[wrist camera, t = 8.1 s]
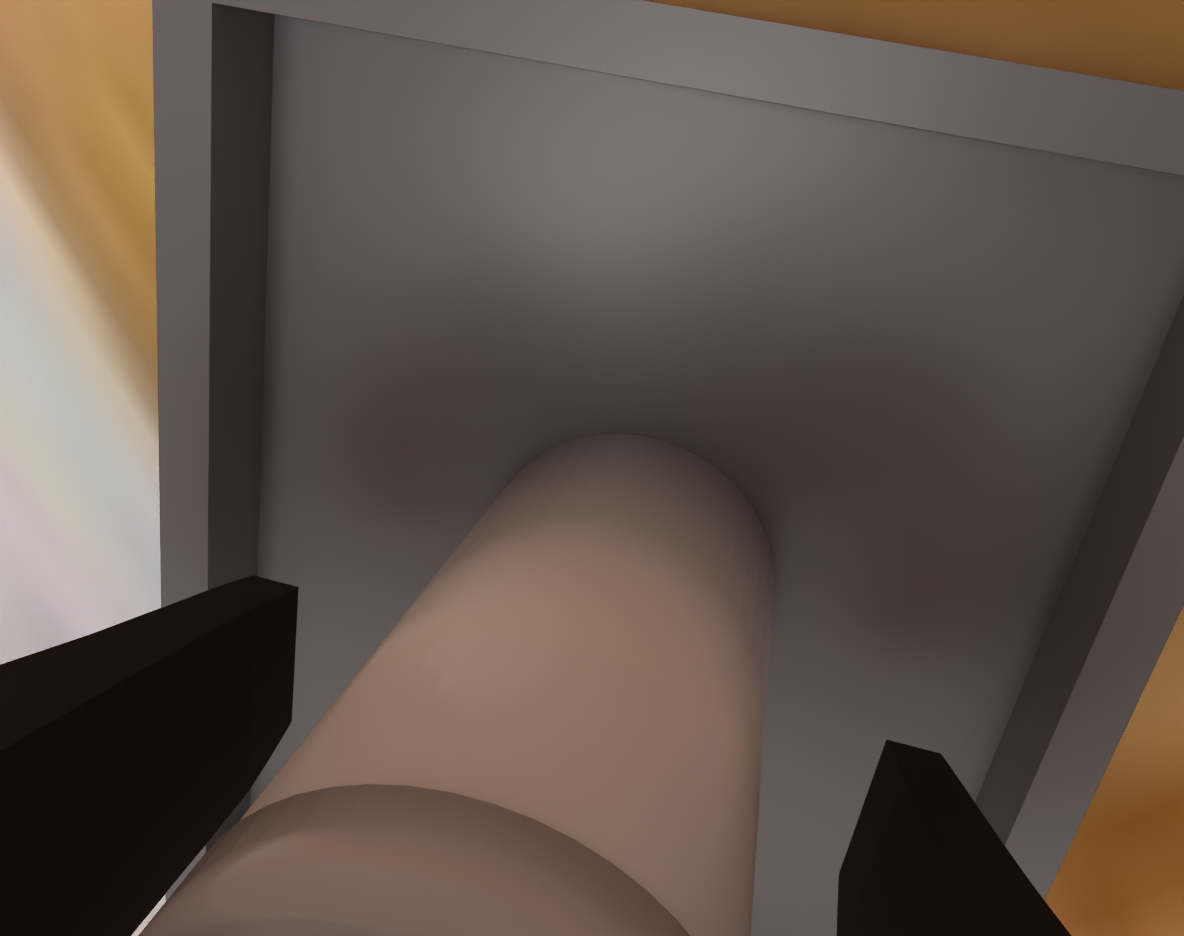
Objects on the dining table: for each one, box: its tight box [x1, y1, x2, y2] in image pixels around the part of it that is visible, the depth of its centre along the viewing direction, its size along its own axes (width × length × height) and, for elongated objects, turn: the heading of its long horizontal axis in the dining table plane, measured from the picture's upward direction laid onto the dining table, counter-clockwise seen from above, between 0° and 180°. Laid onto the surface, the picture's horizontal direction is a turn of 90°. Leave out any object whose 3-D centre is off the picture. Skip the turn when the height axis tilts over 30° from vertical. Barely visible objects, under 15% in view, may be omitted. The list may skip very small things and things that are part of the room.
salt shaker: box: [139, 433, 774, 936], centre depth 10 cm, size 5×5×9 cm
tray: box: [152, 0, 1184, 936], centre depth 15 cm, size 14×16×2 cm
